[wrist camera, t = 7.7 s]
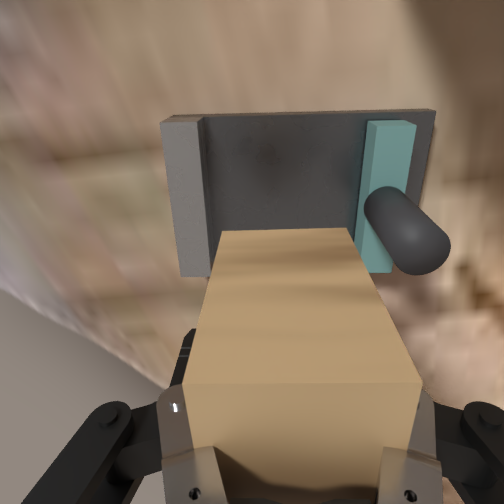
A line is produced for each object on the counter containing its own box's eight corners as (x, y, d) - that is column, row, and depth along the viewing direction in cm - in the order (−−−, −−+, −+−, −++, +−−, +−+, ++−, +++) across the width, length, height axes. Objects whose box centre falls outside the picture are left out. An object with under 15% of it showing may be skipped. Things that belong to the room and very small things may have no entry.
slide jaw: (364, 120, 26) (411, 149, 17) (407, 119, 26) (476, 147, 17) (349, 257, 31) (380, 331, 22) (385, 257, 31) (429, 331, 22)
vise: (173, 115, 28) (159, 122, 24) (427, 108, 27) (452, 115, 23) (190, 254, 33) (180, 276, 30) (401, 252, 32) (418, 276, 29)
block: (222, 231, 15) (181, 384, 8) (346, 227, 15) (423, 382, 7) (234, 367, 18) (214, 561, 11) (335, 366, 18) (380, 564, 11)
